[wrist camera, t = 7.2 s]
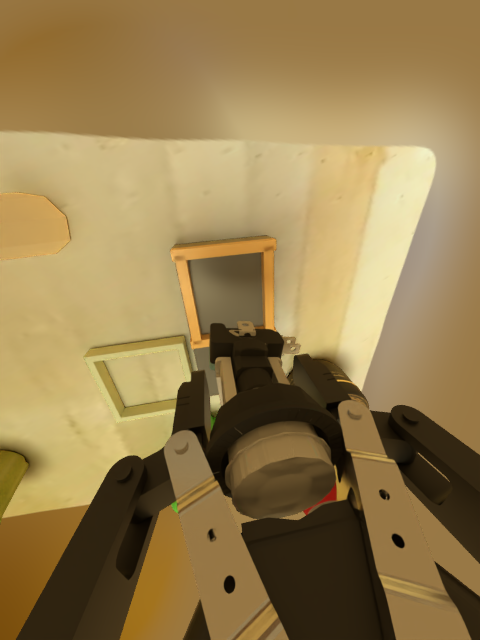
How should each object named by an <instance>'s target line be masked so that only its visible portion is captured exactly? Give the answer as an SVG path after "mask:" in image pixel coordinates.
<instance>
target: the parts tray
mask: <svg viewBox="0 0 480 640" xmlns="http://www.w3.org/2000/svg"><path fill="white" fill-rule="evenodd" d="M177 349H178V352H179V356H180V360H181V364H182V368H183V372H184V376H185V380H186V382H190V381H191V372H192V367H191V363H190V359H189V354H188V350H187V346H186V341H185V337H184V336H178V337H170V338H163V339H156V340H149V341H142V342H135V343H128V344H121V345H114V346H107V347H100V348H93V349H90V350H89V351H88V352H87V353H86V355H85V356H84V357H83V358H84V360H85V362H86V364H87V366H88V368H89V370H90V372H91V374H92V376H93V378H94V380H95V382H96V383H97V385H98V387H99V389H100V391H101V393H102V395H103V397H104V399H105V401H106V403H107V405H108V407H109V409H110V410H111V412H112V414H113V416H114V418H115V420H116V422H117V423H118V422H124V421H130V420H136V419H141V418H147V417H153V416H158V415H164V414H170V413H175V409H176V402H177V399H173V400H167V401H161V402H156V403H150V404H144V405H138V406H132V407H126V408H125V407H124V405H123V403H122V400H121V398H120V396H119V394H118V392H117V390H116V388H115V386H114V383H113V381H112V379H111V377H110V375H109V373H108V371H107V368H106V366H105V364H104V362H103V360H110V359H117V358H123V357H130V356H137V355H144V354H150V353H157V352H164V351H171V350H177Z"/></svg>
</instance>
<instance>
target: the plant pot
mask: <svg viewBox="0 0 480 640" xmlns="http://www.w3.org/2000/svg"><path fill="white" fill-rule="evenodd" d="M28 466H29V463H27V462H26V461H25V459H24V457H23V456H22V455H20V454H18V453H15V452H11V451H3V450H2V451H0V523H1V520H2V516H3V514H4V512H5V510H6V508H7V506H8V504H9V502H10V500H11V499H12V497H13V495H14V493H15V491H16V489H17V487H18V485H19V483H20V482H21V480H22V478H23V476H24V474H25V472H26V470H27V468H28Z"/></svg>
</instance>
